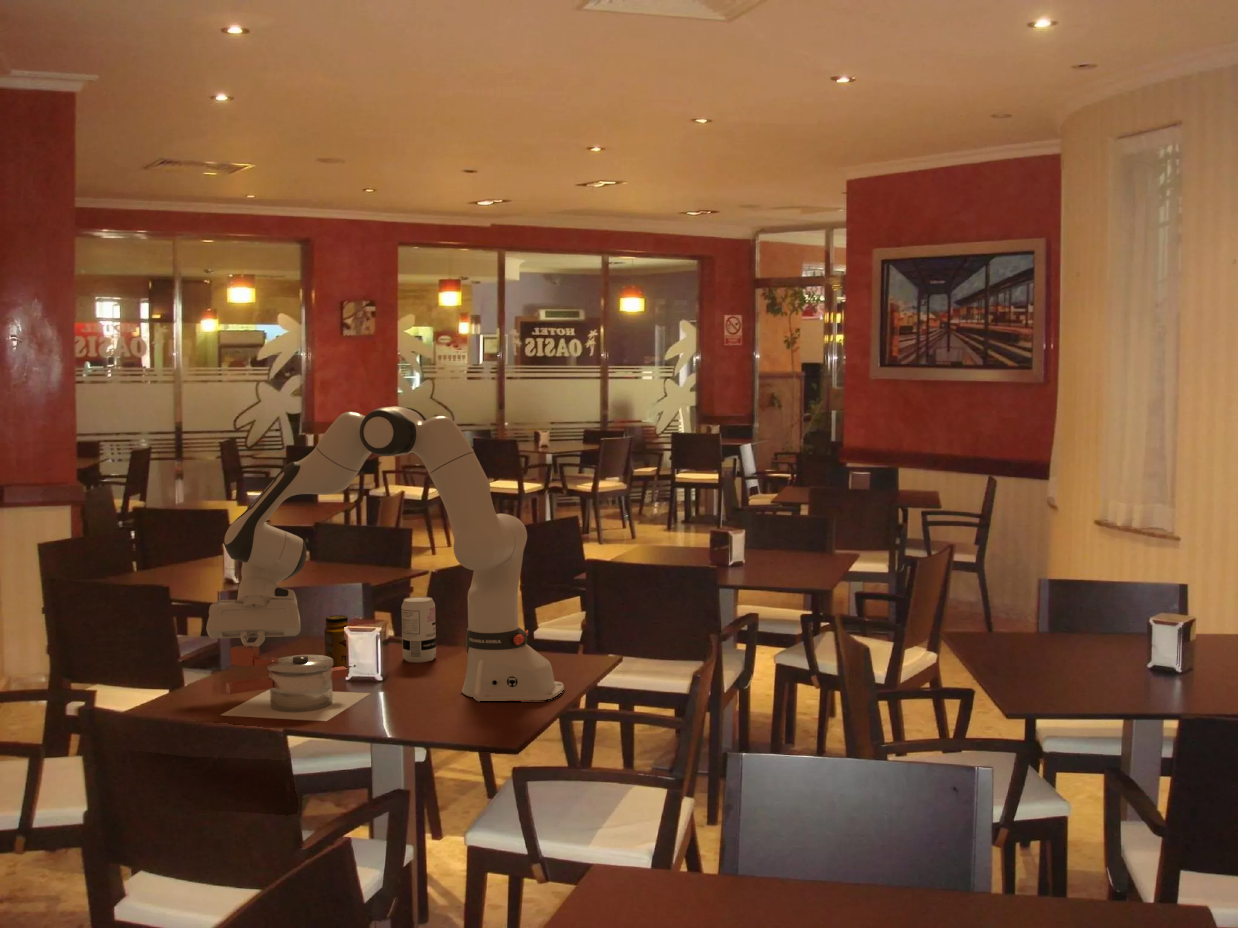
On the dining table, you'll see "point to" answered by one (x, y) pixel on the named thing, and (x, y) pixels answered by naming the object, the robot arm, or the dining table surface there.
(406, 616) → the supplement can
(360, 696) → the mat
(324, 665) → the lid
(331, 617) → the condiment
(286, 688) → the cooker
